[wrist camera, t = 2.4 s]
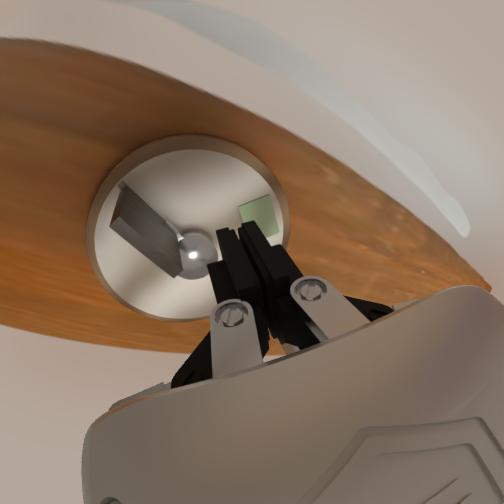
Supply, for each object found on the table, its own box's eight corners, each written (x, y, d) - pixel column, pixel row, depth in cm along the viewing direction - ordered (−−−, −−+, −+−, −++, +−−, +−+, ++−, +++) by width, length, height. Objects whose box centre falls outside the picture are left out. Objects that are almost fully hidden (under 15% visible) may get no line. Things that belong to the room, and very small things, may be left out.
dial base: (311, 232, 28) (324, 245, 26) (185, 330, 30) (189, 348, 28) (201, 88, 18) (206, 88, 16) (54, 238, 20) (46, 254, 18)
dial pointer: (260, 283, 26) (282, 324, 22) (230, 306, 27) (247, 349, 22) (141, 169, 18) (136, 198, 13) (106, 205, 18) (93, 243, 14)
